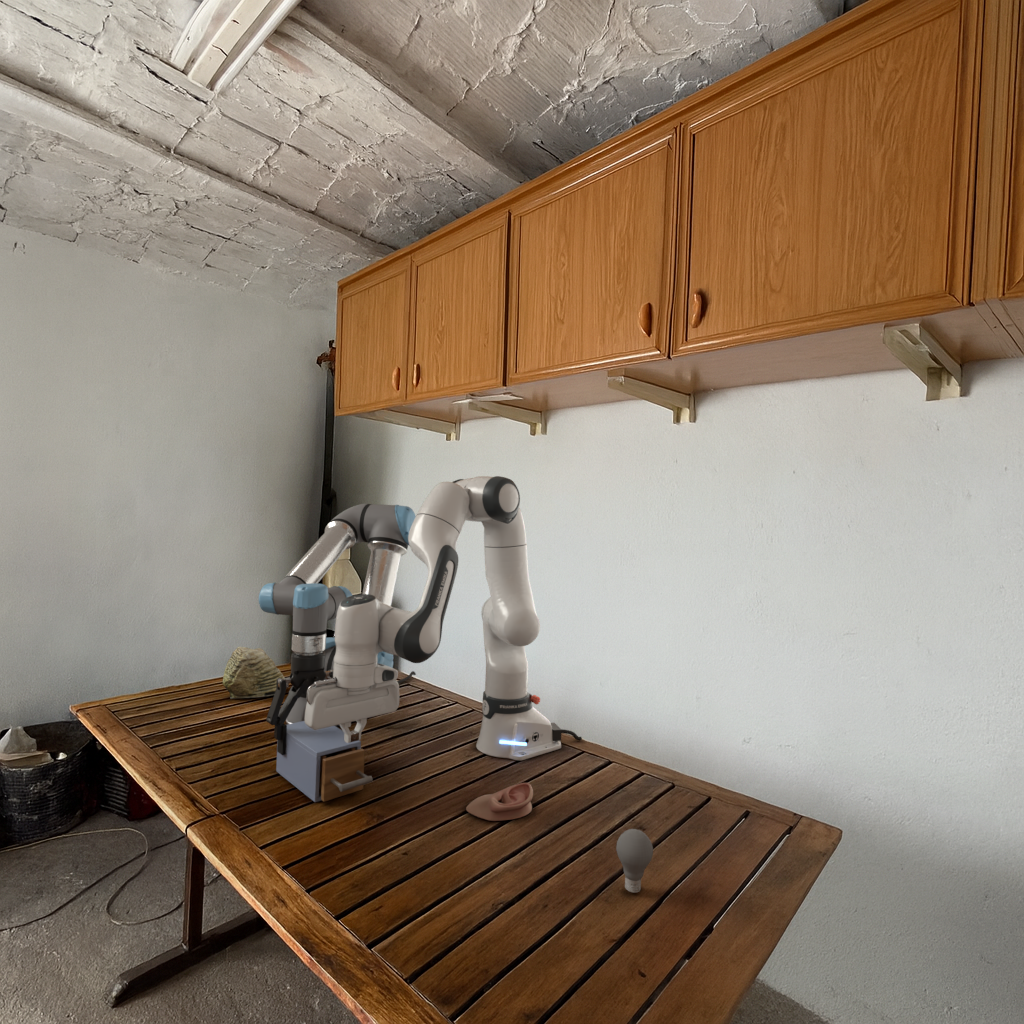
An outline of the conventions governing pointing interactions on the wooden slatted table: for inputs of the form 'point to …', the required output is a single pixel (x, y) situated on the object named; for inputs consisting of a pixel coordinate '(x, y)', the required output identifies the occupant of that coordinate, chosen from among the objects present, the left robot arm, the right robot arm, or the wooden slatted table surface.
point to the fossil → (250, 674)
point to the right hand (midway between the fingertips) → (352, 740)
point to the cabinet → (309, 755)
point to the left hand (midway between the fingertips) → (304, 747)
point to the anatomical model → (503, 803)
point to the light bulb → (634, 857)
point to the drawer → (342, 773)
